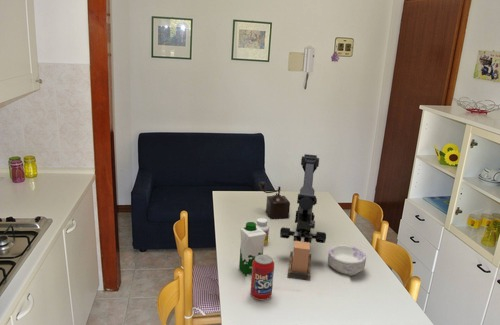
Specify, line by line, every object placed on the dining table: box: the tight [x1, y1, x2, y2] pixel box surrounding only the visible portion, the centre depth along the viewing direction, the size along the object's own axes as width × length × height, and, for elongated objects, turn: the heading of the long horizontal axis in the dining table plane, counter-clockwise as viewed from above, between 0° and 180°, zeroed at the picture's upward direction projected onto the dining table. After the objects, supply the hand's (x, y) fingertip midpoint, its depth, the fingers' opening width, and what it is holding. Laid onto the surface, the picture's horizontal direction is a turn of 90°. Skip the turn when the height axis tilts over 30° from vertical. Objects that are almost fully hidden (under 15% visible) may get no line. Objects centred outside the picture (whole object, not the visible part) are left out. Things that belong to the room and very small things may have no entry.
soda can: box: [250, 254, 275, 301], centre depth 149 cm, size 8×8×15 cm
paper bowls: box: [327, 244, 367, 277], centre depth 171 cm, size 15×15×8 cm
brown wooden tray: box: [286, 251, 312, 282], centre depth 169 cm, size 18×9×4 cm, turn 171°
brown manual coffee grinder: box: [258, 181, 291, 220], centre depth 220 cm, size 16×11×18 cm
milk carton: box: [238, 221, 266, 277], centre depth 164 cm, size 9×9×20 cm
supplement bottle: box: [256, 217, 270, 247], centre depth 186 cm, size 7×7×13 cm
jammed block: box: [291, 240, 311, 274], centre depth 164 cm, size 6×6×12 cm
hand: (300, 255), depth 167 cm, fingers closed
